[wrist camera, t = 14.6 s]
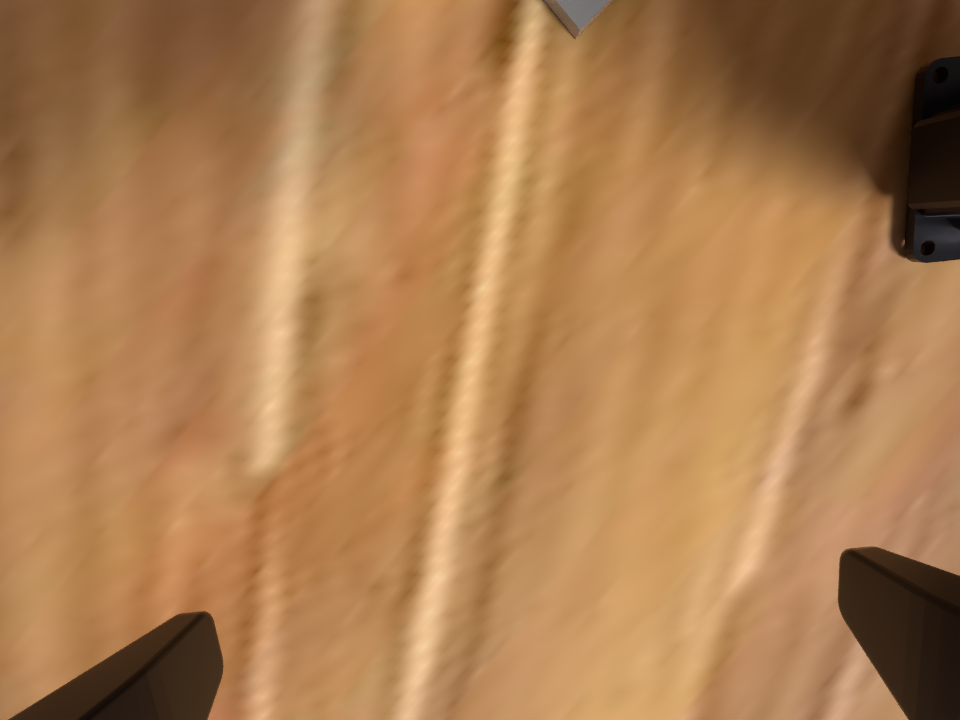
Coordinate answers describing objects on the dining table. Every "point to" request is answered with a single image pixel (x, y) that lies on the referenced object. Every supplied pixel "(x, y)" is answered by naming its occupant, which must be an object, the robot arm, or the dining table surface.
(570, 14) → the slate board
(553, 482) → the dining table surface
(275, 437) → the dining table surface
